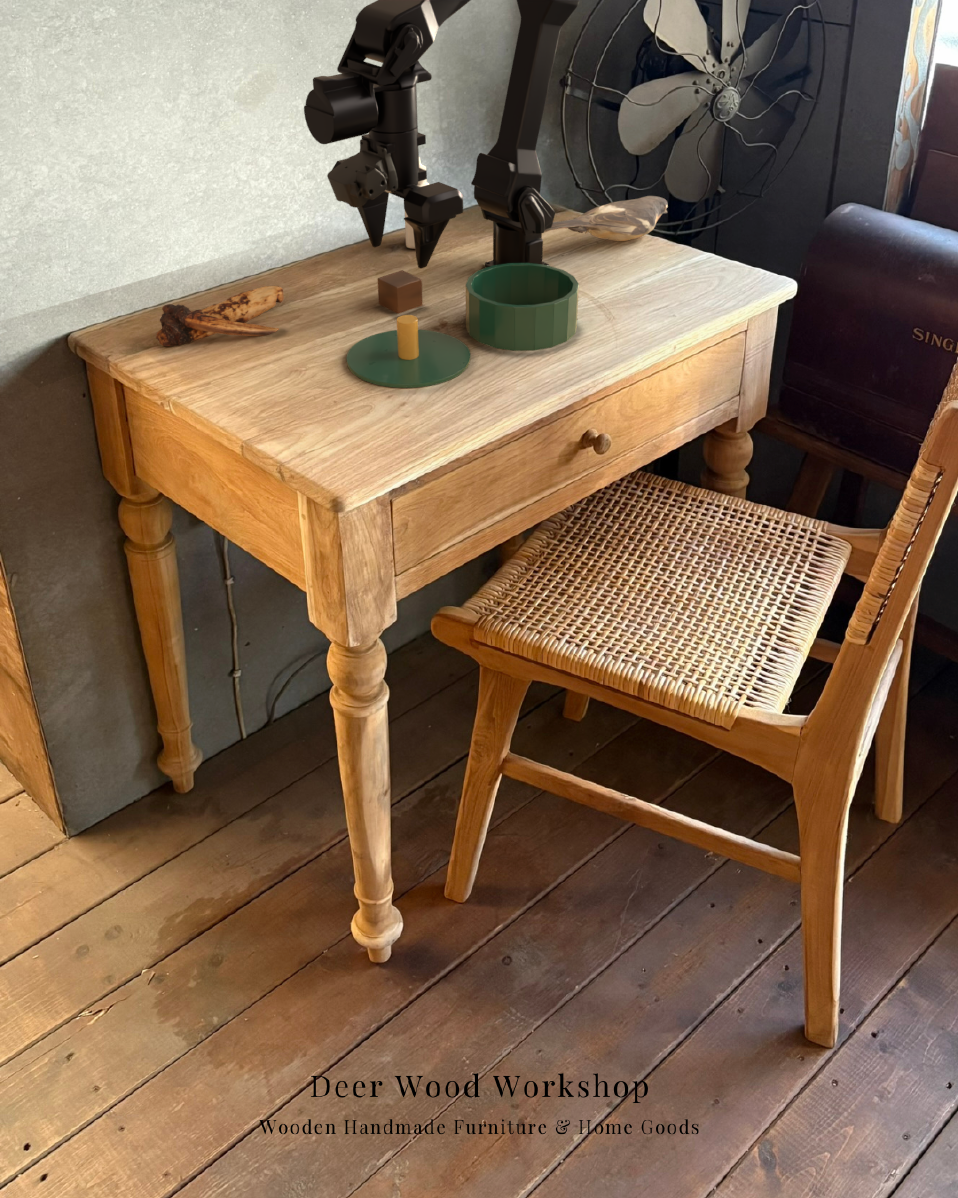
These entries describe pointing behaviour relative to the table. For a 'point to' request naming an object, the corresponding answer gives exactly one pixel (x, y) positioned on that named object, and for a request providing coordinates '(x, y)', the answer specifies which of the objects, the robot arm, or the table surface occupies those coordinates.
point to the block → (400, 291)
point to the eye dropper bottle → (408, 228)
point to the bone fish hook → (219, 317)
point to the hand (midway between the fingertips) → (399, 256)
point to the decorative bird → (618, 219)
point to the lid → (408, 356)
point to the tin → (521, 306)
